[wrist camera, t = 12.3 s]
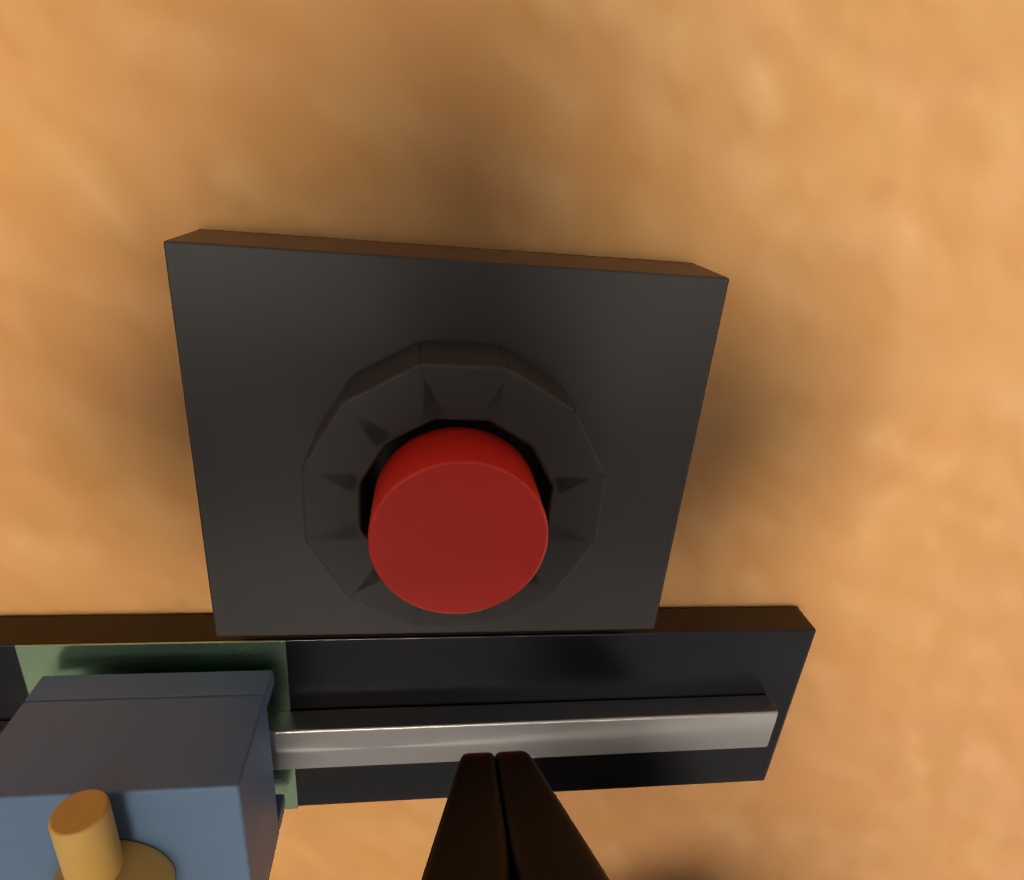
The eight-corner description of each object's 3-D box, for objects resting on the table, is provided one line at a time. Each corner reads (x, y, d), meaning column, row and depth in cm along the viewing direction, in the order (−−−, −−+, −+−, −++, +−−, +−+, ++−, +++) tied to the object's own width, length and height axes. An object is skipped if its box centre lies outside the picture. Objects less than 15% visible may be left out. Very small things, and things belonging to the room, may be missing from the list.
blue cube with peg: (286, 803, 20) (237, 1026, 15) (81, 815, 19) (-45, 1054, 14) (272, 658, 18) (209, 863, 13) (38, 663, 17) (-131, 886, 12)
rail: (749, 753, 24) (819, 883, 20) (-67, 792, 20) (-200, 964, 16) (797, 606, 22) (890, 720, 17) (-138, 618, 18) (-324, 770, 13)
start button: (528, 566, 15) (540, 614, 14) (374, 566, 15) (367, 616, 13) (543, 427, 14) (558, 463, 12) (373, 422, 13) (366, 459, 12)
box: (632, 583, 20) (676, 676, 17) (238, 585, 19) (192, 689, 15) (693, 262, 16) (769, 293, 13) (198, 228, 15) (122, 253, 11)
